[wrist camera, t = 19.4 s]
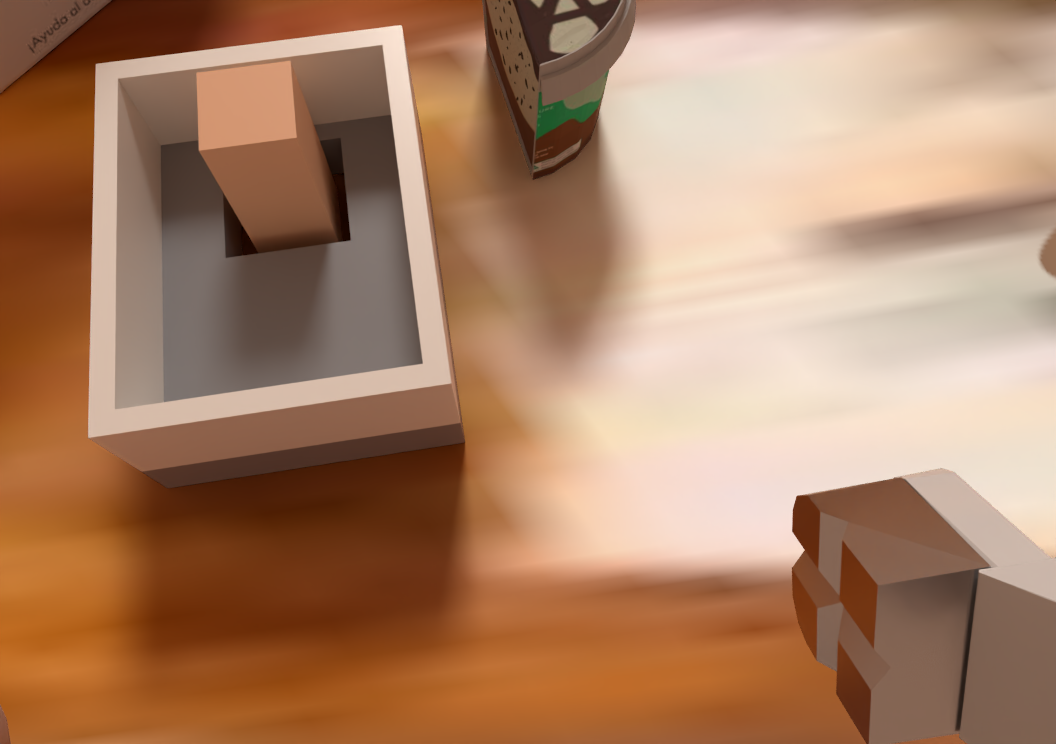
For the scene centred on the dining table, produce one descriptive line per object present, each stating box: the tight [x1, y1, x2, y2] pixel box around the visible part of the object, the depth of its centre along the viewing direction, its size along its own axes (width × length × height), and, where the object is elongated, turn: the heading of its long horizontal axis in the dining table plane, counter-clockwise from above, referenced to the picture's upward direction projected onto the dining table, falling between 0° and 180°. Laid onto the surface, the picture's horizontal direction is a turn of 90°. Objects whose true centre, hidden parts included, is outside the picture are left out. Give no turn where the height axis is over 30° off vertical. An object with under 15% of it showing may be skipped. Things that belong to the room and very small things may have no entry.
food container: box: [482, 0, 636, 179], centre depth 45 cm, size 12×6×10 cm, turn 16°
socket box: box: [88, 25, 465, 488], centre depth 41 cm, size 14×18×8 cm
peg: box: [196, 61, 343, 253], centre depth 42 cm, size 4×4×10 cm
